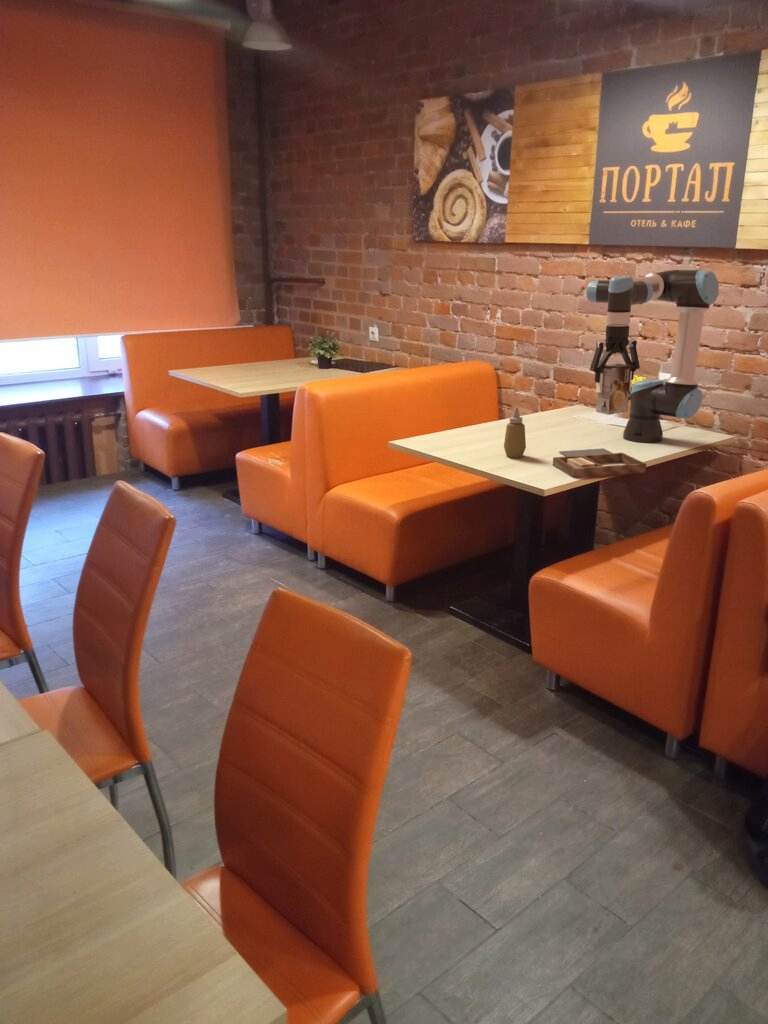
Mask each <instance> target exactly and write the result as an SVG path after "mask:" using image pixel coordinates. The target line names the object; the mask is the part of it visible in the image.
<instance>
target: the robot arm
mask: <svg viewBox="0 0 768 1024" xmlns="http://www.w3.org/2000/svg"><path fill="white" fill-rule="evenodd" d="M719 289H720V285H719V279H718V277H717V276H716V274H715V273H714V272H712V271H711V270H703V269H670V270H669V269H668V270H664V271H659V272H652V273H651V272H650V273H648V274H646V275H645V276H639V277H632V276H612V277H611V278H610V279H608V280H601V279H598V280H591V281H590V282H589V283H588V284H587V287H586V291H585V295H586V299H587V300H588V301H589V302H591V303H597V304H598V303H599V304H602V303H603V304H607V312H606V324H607V325H606V327H605V340H604V341H597V342H596V347H595V351H594V355H593V358H592V361H591V364H590V367H589V370H590V372H594V383H596V386H595V392H596V393H597V392H599V393H602V382H603V373H601V371H602V370H603V368H604V366H605V365H607V363H608V361H609V359H610V358H611V356H612V355H613V354H617V353H618V354H620V355H621V358H622V359H623V362H624V365H631V374H630V388H629V392H630V391H631V392H630V404H629V405H630V406H629V414H628V415H629V418H628V420H627V423H626V425H625V428H624V429H623V432H622V437H623V439H625V440H627V441H631V442H636V443H637V442H638V443H658V442H661V441H663V438H664V433H663V428H662V424H661V416H665V417H672V418H677V419H687V420H688V419H691V418H693V417H694V416H695V415H696V414H697V412H698V411H699V409H700V408H701V405H702V401H703V392H702V390H701V389H700V388H698V385H699V383H698V382H697V380H696V371H697V364H698V359H699V358H698V357H699V349H700V344H701V337H702V331H703V323H704V318H705V317H704V316H705V313H706V312H707V311H709V310H710V306H711V305H712V304H714V303H715V302H716V301H717V299H718V296H719V292H720V291H719ZM654 300H656V301H664V302H670V303H671V302H672V303H676V306H675V308H676V309H677V310H678V311H679V314H678V320H677V330H676V335H675V343H674V350H673V357H672V363H671V364H672V365H671V371H670V376H669V378H667V379H666V380H665V383H664V380H663V379H645V380H638V381H634V382H633V384H632V381H633V380H634V376H635V375H634V374H635V372H636V371H637V370H639V369H641V367H640V361H639V355H638V351H637V344H638V343H637V341H638V340H634V339H631V340H629V336H630V324H631V312H632V311H631V310H632V306H634V305H643V304H646V303H648V302H650V301H654ZM605 347H606V348H605ZM627 347H629V348H628V349H629V351H628V349H627ZM604 348H605V349H604ZM603 351H604V352H603ZM629 353H630V355H629Z"/></svg>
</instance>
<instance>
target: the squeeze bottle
mask: <svg viewBox="0 0 768 1024" xmlns="http://www.w3.org/2000/svg"><path fill="white" fill-rule="evenodd" d="M519 411H520V410H519V408H518V407H514V409H513V414H512V416H510V417H509V422H508V423H507V424H506V428H505V429H506V430H505V435H504V442H503V448H504V452H505V455H506V457H508V458H513V459H516V458H522V457H523V456H524V453H525V451H526V448H527V444H526V443H527V441H526V425H525V424H524V423H523V419H524V418H523V417H522V416H520V412H519Z"/></svg>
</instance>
